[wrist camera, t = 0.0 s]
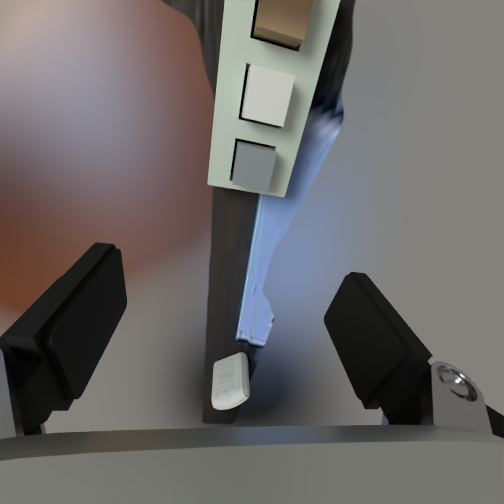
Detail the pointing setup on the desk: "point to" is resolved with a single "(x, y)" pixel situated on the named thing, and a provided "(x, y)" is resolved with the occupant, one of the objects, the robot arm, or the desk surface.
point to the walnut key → (283, 21)
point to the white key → (267, 95)
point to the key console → (275, 58)
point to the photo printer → (230, 381)
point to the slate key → (253, 165)
